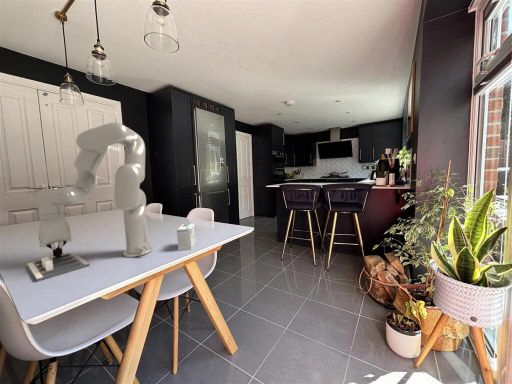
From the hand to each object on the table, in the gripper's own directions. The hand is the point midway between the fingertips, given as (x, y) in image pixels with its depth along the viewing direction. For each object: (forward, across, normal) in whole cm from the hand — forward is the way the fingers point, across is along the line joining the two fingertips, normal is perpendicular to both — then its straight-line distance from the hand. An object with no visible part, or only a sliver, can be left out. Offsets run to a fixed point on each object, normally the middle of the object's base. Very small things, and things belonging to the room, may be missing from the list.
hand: (58, 256), depth 97 cm
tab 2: (+1, +3, 0) cm, 3 cm away
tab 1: (+1, +5, +6) cm, 8 cm away
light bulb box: (+2, -44, +34) cm, 55 cm away
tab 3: (+1, +5, +12) cm, 13 cm away
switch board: (+2, +1, +6) cm, 7 cm away
